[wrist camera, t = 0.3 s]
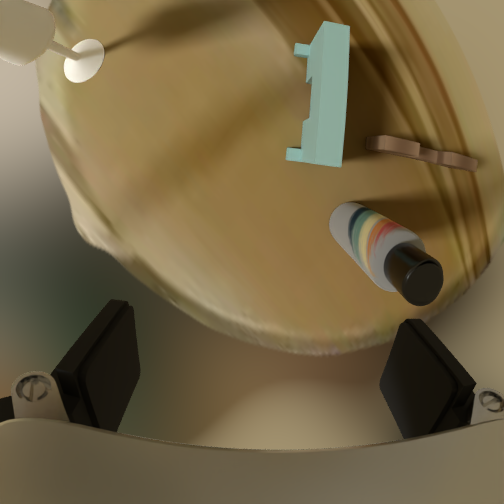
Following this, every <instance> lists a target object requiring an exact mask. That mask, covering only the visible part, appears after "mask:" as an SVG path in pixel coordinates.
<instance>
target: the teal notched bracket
mask: <svg viewBox="0 0 504 504" xmlns="http://www.w3.org/2000/svg"><path fill="white" fill-rule="evenodd" d="M349 32H350V26H346V25H342V24H337V23H332V22H327V21H324V22H323V24H322V26H321V27H320V29H319V31H318V32H317V34H316V36H315V37H314V39H313V41H312V42H311V44H310V45H305V44H299V43H296V44H295V50H294V56H298V57H305V58H308V62H307V77H306V83H309V84H312V89H311V103H310V116H309V118H308V119H306V120H305V121H303V130H302V141H301V149H296V148H287V152H286V160H291V161H300V162H306V163H312V164H319V165H327V166H335V167H341V164H342V154H343V143H344V132H345V119H346V105H347V89H348V68H349Z"/></svg>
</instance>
